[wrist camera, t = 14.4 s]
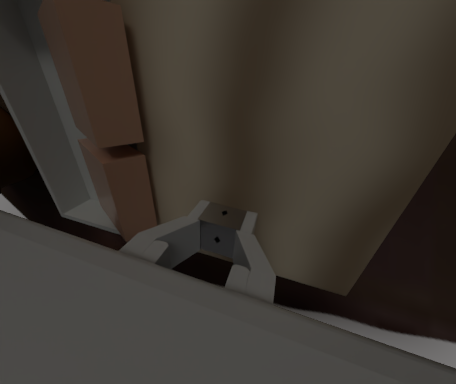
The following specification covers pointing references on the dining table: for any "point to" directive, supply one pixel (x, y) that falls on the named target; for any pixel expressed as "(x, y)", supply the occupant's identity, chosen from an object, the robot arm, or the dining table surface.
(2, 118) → the mug
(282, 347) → the robot arm
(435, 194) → the dining table surface
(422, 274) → the dining table surface
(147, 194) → the tile
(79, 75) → the tile
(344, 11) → the board
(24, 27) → the tray
